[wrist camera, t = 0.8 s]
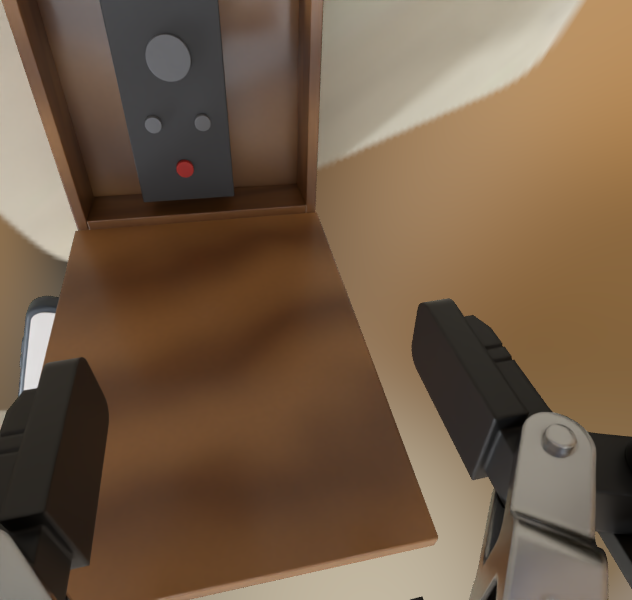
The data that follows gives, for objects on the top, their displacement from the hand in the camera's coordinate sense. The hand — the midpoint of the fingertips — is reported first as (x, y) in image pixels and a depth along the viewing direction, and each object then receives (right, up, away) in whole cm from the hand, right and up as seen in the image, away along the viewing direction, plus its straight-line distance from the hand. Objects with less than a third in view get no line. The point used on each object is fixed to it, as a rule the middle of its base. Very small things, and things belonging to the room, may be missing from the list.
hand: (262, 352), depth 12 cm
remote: (-6, +15, +13) cm, 20 cm away
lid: (-3, -1, +9) cm, 10 cm away
